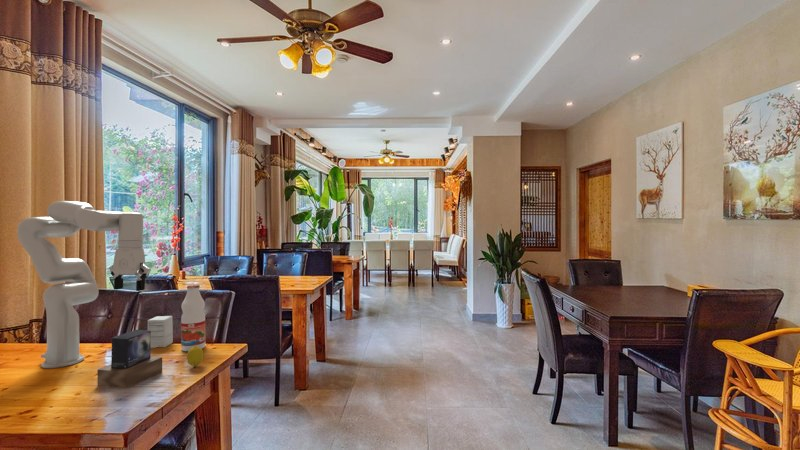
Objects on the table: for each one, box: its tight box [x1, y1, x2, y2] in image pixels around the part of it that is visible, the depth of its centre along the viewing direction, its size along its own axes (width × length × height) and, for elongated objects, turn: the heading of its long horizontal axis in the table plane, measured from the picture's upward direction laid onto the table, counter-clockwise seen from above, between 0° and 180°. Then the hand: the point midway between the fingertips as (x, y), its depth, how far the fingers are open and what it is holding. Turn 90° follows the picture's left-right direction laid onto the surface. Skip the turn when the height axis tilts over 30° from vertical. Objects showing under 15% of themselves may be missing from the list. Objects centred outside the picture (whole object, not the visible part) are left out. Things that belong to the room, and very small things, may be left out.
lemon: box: [186, 346, 204, 368], centre depth 140 cm, size 6×6×8 cm
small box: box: [110, 329, 152, 369], centre depth 129 cm, size 11×6×10 cm, turn 174°
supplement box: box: [147, 315, 174, 349], centre depth 166 cm, size 7×7×13 cm
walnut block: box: [96, 355, 163, 390], centre depth 129 cm, size 12×14×6 cm
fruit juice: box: [180, 283, 206, 352], centre depth 162 cm, size 9×9×28 cm
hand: (129, 289), depth 139 cm, fingers open, 9 cm apart
